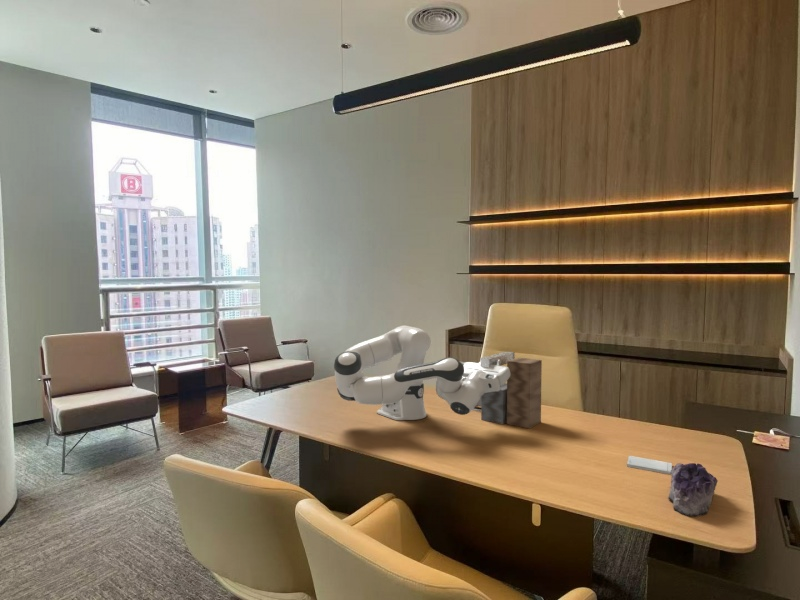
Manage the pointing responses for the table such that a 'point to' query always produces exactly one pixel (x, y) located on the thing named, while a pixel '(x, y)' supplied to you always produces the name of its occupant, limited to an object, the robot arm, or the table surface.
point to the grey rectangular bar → (502, 357)
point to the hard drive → (649, 465)
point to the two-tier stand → (516, 396)
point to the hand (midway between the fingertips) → (493, 360)
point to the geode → (691, 489)
